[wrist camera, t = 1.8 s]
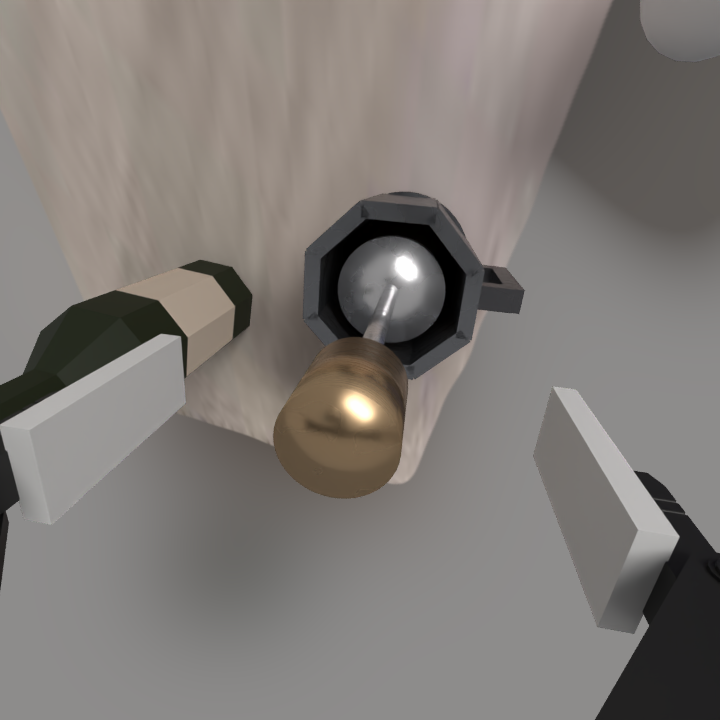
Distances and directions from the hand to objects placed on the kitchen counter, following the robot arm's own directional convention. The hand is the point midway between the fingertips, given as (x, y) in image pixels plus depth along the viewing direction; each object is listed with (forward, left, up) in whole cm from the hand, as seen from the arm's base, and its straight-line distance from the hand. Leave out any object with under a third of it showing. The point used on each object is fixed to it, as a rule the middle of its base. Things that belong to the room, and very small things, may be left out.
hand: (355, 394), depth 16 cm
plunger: (0, 0, -15) cm, 15 cm away
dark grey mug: (0, +1, -26) cm, 26 cm away
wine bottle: (+6, -18, -27) cm, 33 cm away
